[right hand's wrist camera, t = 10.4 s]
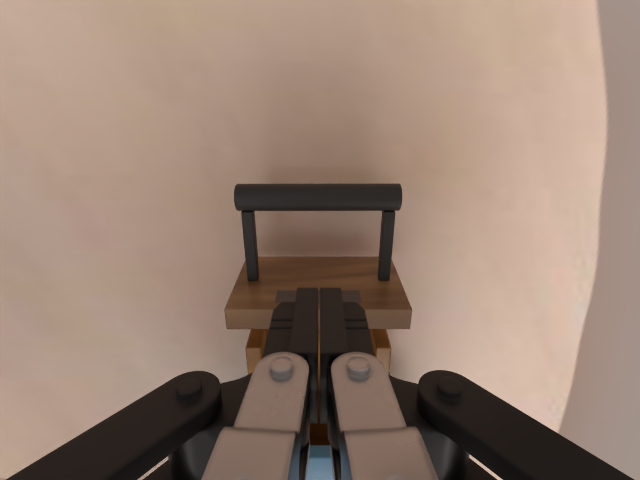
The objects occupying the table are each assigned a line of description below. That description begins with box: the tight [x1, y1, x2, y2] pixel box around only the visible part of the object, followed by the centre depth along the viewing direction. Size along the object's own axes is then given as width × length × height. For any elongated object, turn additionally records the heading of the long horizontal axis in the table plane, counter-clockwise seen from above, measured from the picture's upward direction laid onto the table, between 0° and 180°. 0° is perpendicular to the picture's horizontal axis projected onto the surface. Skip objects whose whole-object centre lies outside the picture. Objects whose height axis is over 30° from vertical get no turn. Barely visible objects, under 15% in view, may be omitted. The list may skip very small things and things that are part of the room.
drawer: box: [225, 184, 412, 445], centre depth 23 cm, size 22×9×6 cm, turn 0°
